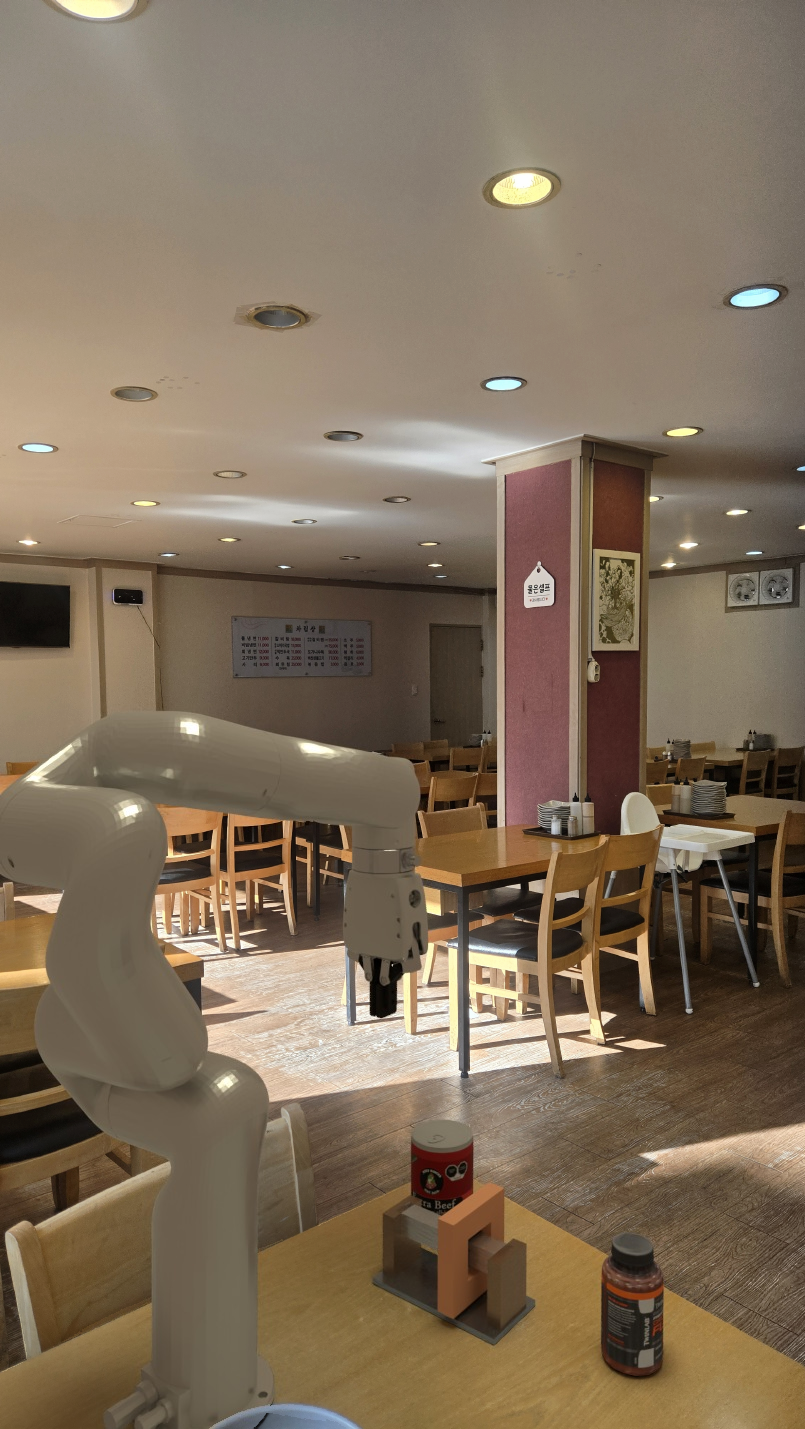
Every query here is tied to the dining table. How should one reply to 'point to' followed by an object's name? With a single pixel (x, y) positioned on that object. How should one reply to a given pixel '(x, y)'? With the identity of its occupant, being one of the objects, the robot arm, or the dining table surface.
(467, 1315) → the stand
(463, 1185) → the canned food
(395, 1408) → the dining table surface
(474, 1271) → the collar
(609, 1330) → the supplement bottle
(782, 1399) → the dining table surface
